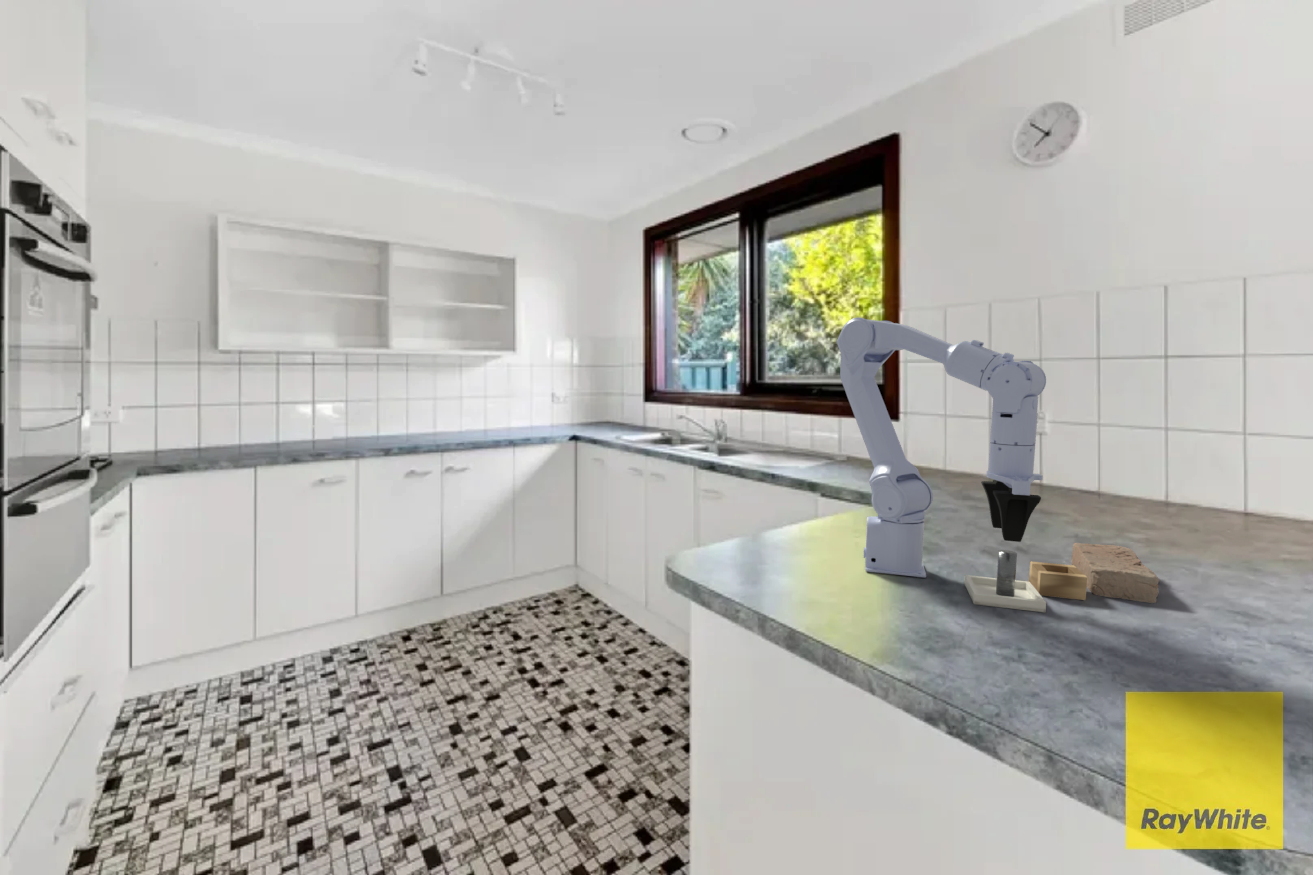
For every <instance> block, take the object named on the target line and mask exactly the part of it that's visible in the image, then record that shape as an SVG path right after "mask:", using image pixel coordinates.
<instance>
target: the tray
mask: <svg viewBox="0 0 1313 875" xmlns="http://www.w3.org/2000/svg"><path fill="white" fill-rule="evenodd" d="M963 582H964V583H963V585H964V587H965V588H966V591H967V593H968V594H969V597H970V599H971V601H972V603H973V605H977V606H978V605H979V606H987V607H993V608H994V607H995V608H1005V609H1012V610H1013V609H1014V610H1021V611H1027V612H1028V611H1029V612H1037V613H1038V612H1039V613H1046V611H1047V610H1046V609H1047V601H1046V600H1045V599H1044V598H1043V597H1042V595H1040V594H1039V593H1038V591H1037V590H1036V589H1035V588H1034V587H1033V585H1032V584H1031V583H1030V582H1029V580H1028V581H1027V580H1016V579H1015V595H1014V597H1009V596H1000V595H997V594H996V583H997V577H988V576H987V577H986V576H979V575H978V576H977V575H968V574H965V575H964V581H963Z"/></svg>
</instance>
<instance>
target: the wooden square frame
mask: <svg viewBox="0 0 1313 875" xmlns="http://www.w3.org/2000/svg"><path fill="white" fill-rule="evenodd" d="M1028 582H1030V583H1031V584H1032V585H1033V587H1034V588H1035V589H1036V590H1037V591H1038V593H1039V594H1040V595H1041V596H1043V597H1044V596H1045V597H1052V598H1053V597H1054V598H1062V599H1072V600H1079V601H1080V600H1082V601H1086V599H1087V589H1088V587H1087V577H1086V576H1085V575H1084V574H1083V573H1082V572H1081V571H1080V570H1079V569H1077V568H1076V567H1075V566H1074V565H1071V564H1064V563H1063V564H1062V563H1053V562H1040V561H1030V562H1029V572H1028Z"/></svg>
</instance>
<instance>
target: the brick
mask: <svg viewBox="0 0 1313 875" xmlns="http://www.w3.org/2000/svg"><path fill="white" fill-rule="evenodd" d="M1070 563H1071V564H1070V565H1074V566H1075V567H1076V568H1077V569H1079V570H1080V571H1081V572H1082V573H1083V574H1084V575H1085V576H1086V577H1087V589H1088V590H1089V591H1090V592H1091V593H1092V595H1095V596H1099V597H1100V596H1101V597H1106V598H1115V599H1117V598H1118V599H1122V600H1131V601H1136V602H1142V603H1150V604H1153V603H1154V604H1157V597H1158V595H1159V592H1160V591H1159V583H1160V578H1159V577H1158V576H1157V575H1156V573H1155V572H1154V571H1153V570H1151V569H1150V568H1149V567H1147V566H1145V565H1144V564H1143V562H1142V560H1141V559H1139V557H1138V555H1137V554H1136V553H1135V552H1134V551H1133V549H1132V548H1130V547H1125V546H1121V545H1114V544H1109V545H1108V544H1099V543H1095V544H1093V543H1080V542H1074V543H1073V545H1072V555H1071V562H1070Z"/></svg>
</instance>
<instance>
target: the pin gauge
mask: <svg viewBox="0 0 1313 875" xmlns="http://www.w3.org/2000/svg"><path fill="white" fill-rule="evenodd" d="M997 553H998V554H997V569H996V570H997V571H996V578H997V583H996V594H997V595H1000V596H1009V597H1014V595H1015V580H1016V577H1017V576H1016V574H1017V558H1018V553H1017V552H1016V551H1013V550H1008V549H1007V550H1006V549H1000V550H998V552H997Z"/></svg>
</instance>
